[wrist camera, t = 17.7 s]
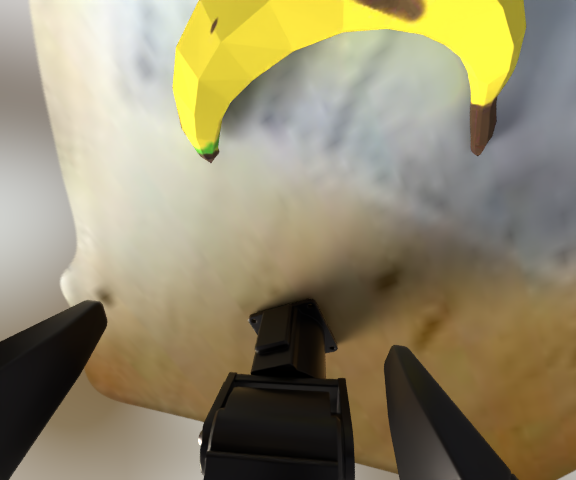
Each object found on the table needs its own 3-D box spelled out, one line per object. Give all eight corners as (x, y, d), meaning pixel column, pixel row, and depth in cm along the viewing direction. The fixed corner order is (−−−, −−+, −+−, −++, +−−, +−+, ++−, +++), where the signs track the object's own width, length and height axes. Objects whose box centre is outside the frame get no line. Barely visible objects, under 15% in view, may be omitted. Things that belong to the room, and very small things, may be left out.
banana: (104, 86, 14) (287, 270, 21) (506, -386, 7) (571, 136, 14) (145, 69, 17) (290, 232, 25) (438, -253, 10) (518, 109, 18)
